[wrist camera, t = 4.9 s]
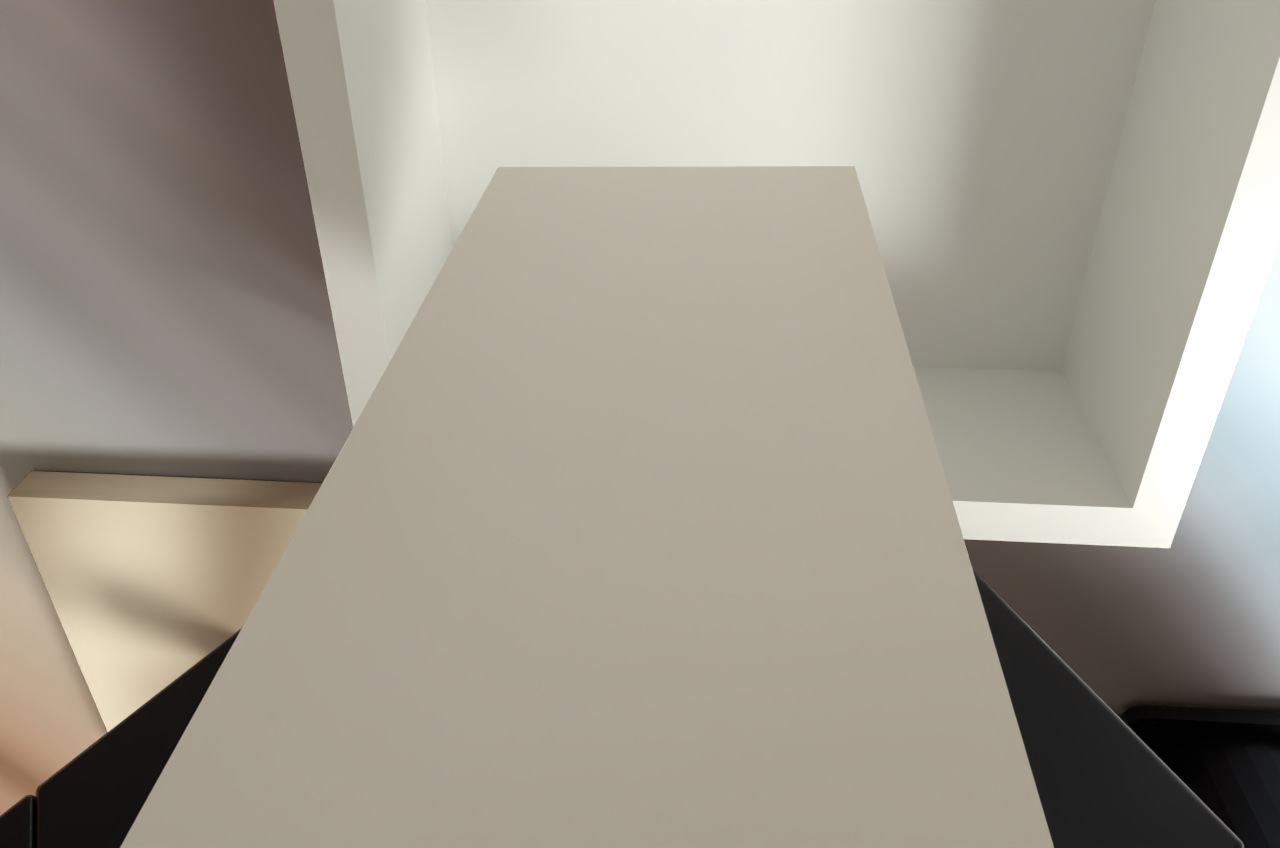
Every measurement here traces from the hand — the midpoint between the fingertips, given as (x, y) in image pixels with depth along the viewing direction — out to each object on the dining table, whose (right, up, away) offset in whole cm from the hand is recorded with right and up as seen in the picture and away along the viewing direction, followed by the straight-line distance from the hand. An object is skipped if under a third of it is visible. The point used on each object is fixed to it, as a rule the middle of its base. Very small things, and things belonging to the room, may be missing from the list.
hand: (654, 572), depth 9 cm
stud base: (-10, -4, +18) cm, 21 cm away
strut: (0, +3, +4) cm, 4 cm away
